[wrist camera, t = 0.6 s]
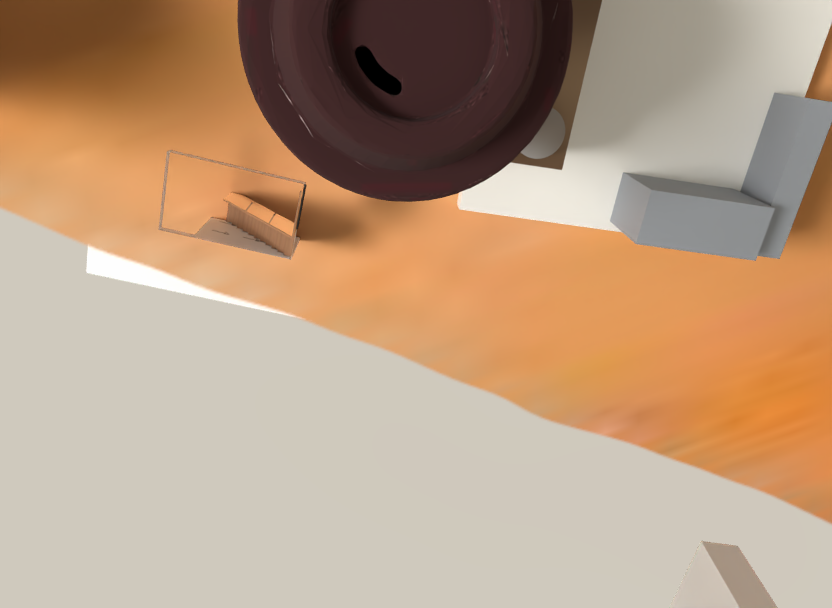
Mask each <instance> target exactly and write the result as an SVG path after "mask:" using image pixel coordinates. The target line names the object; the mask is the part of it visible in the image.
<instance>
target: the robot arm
mask: <svg viewBox="0 0 832 608" xmlns="http://www.w3.org/2000/svg"><path fill="white" fill-rule="evenodd" d="M669 608H777V606H776V604H775V603H774V601H773V600H772V599H771V597H770V595H769V594H768V592H767V591H766V589H765V587H764V586H763V584H762V583H761V581H760V580H759V578H758V577H757V575H756V574H755V572H754V570H753V569H752V567H751V566H750V564H749V563H748V561H747V559H746V558H745V556H744V555H743V553H742V552H741V550H740V549H739V547H738V546H733V545H727V544H718V543H711V542H703V541H701V542H700V545H699V546H698V549H697V551H696V553H695V555H694V557H693V559H692V561H691V563H690V565H689V568H688V569H687V572H686V574H685V576H684V578H683V580H682V582H681V584H680V586H679V588H678V591H677V592H676V595H675V597H674V599H673V601H672V603H671V605H670V607H669Z"/></svg>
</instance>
